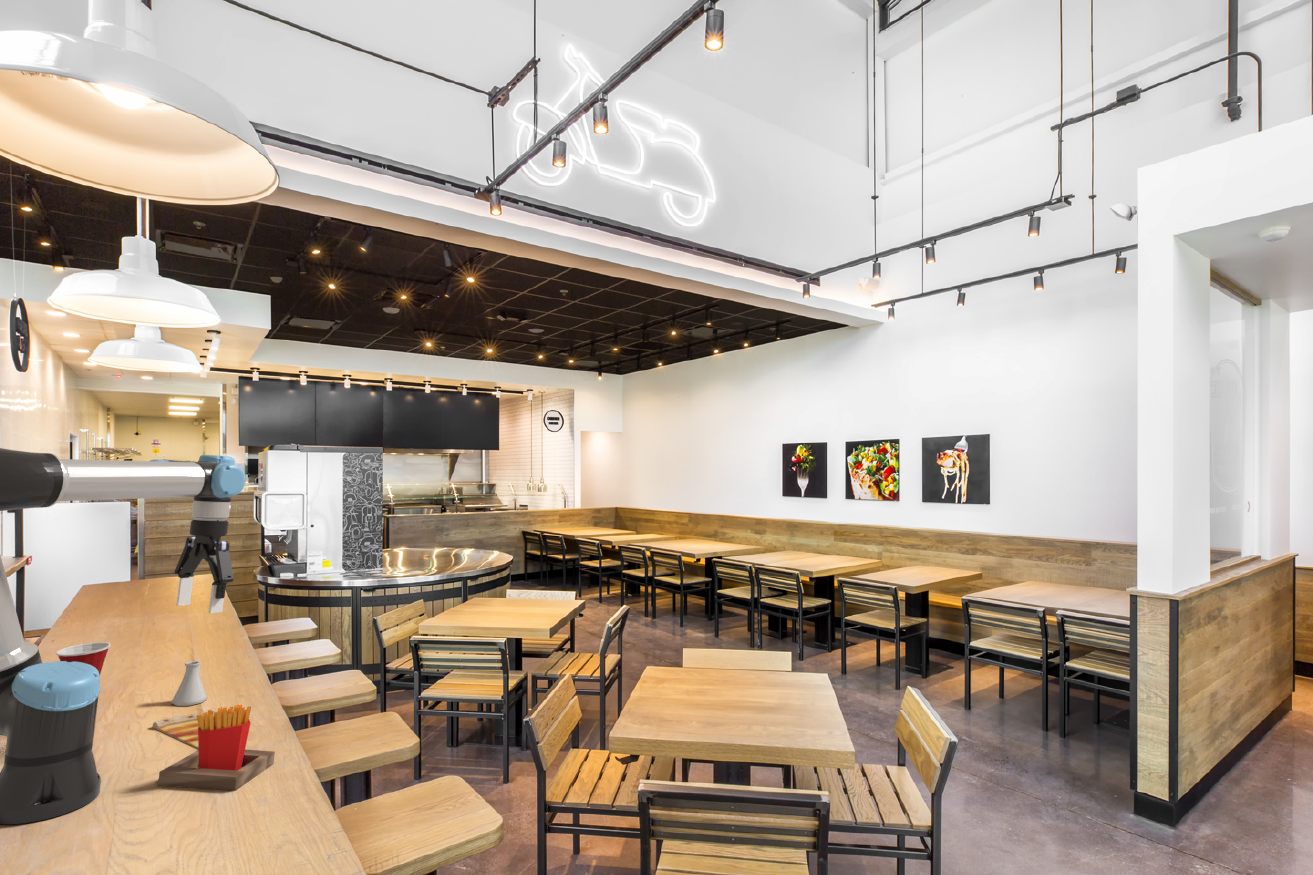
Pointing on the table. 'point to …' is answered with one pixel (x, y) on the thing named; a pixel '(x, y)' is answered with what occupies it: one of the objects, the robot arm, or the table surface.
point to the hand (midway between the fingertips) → (199, 608)
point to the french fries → (223, 738)
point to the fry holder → (215, 772)
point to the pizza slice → (181, 728)
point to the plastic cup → (86, 654)
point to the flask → (190, 687)
